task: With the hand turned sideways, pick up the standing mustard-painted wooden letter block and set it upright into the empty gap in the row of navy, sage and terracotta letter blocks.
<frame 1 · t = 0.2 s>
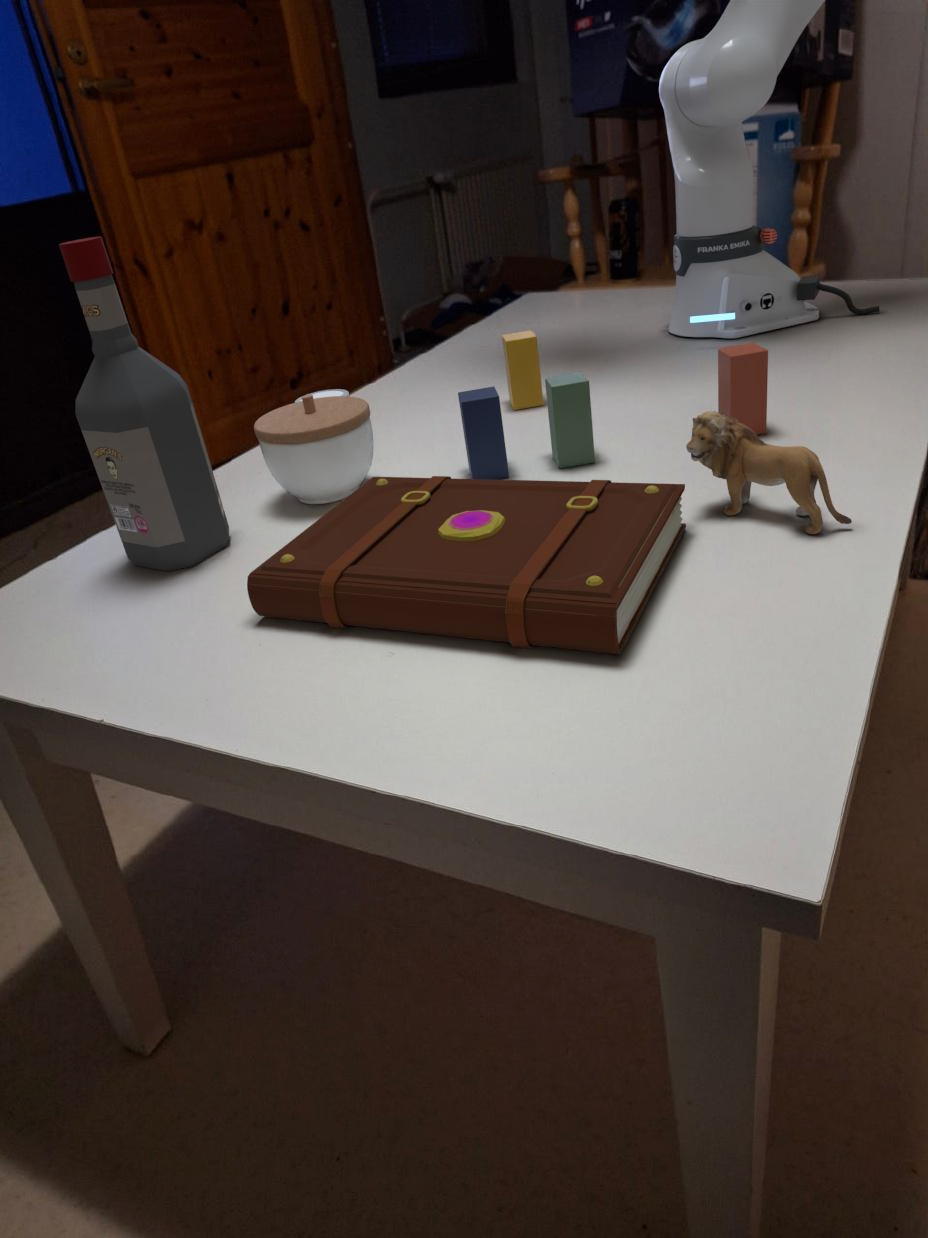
book: (476, 576, 78), on the table
lion figurine: (760, 517, 80), on the table
lidded bowl: (329, 493, 102), on the table
sage block: (573, 459, 99), on the table
terracotta block: (741, 430, 99), on the table
shot glass: (333, 451, 115), on the table
navy block: (489, 474, 99), on the table
mustard block: (526, 403, 120), on the table
liquor: (182, 552, 93), on the table
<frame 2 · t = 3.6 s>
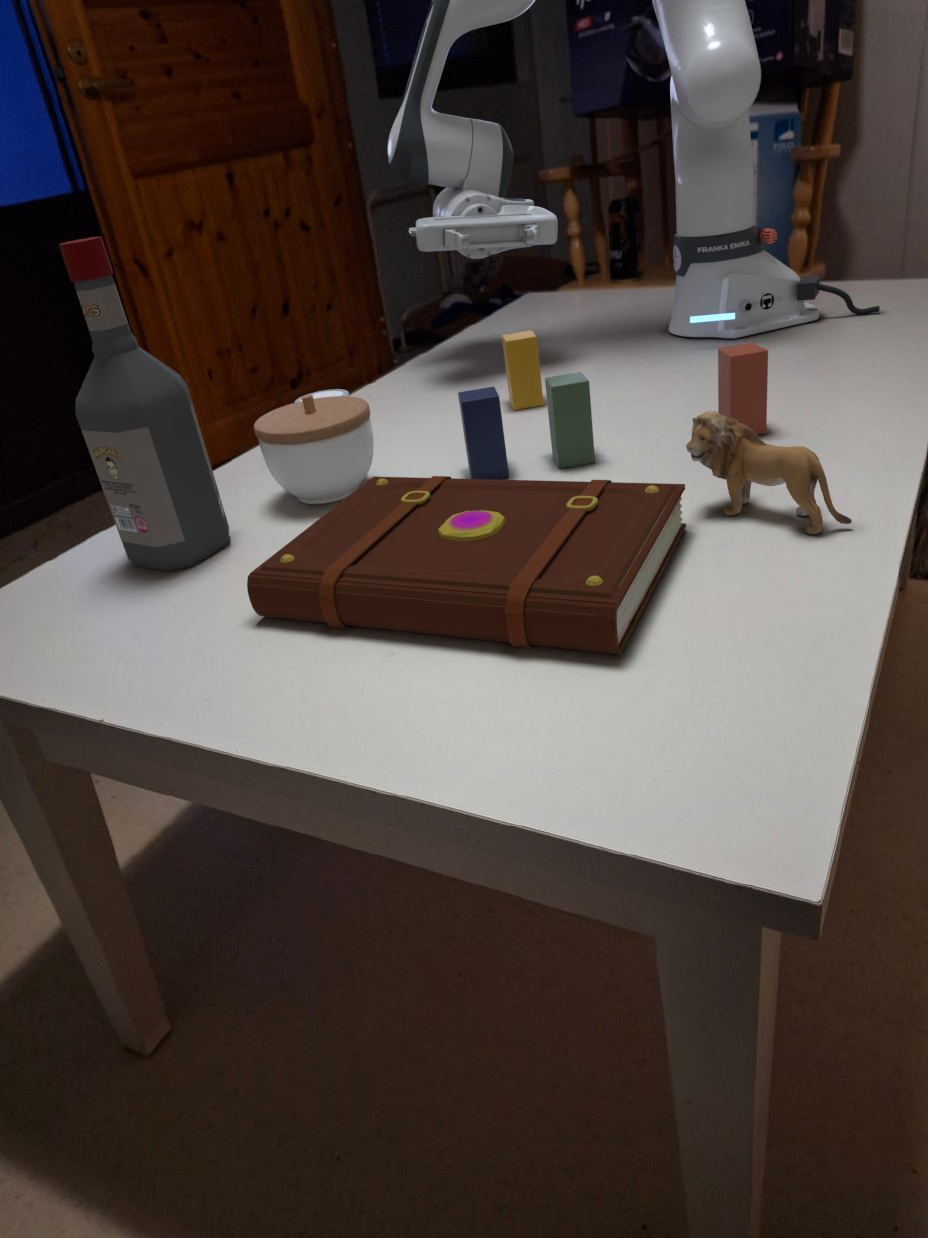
hand: (498, 239, 121), 19 cm above the table, tool horizontal, fingers open, 8 cm apart
nothing on the table moved.
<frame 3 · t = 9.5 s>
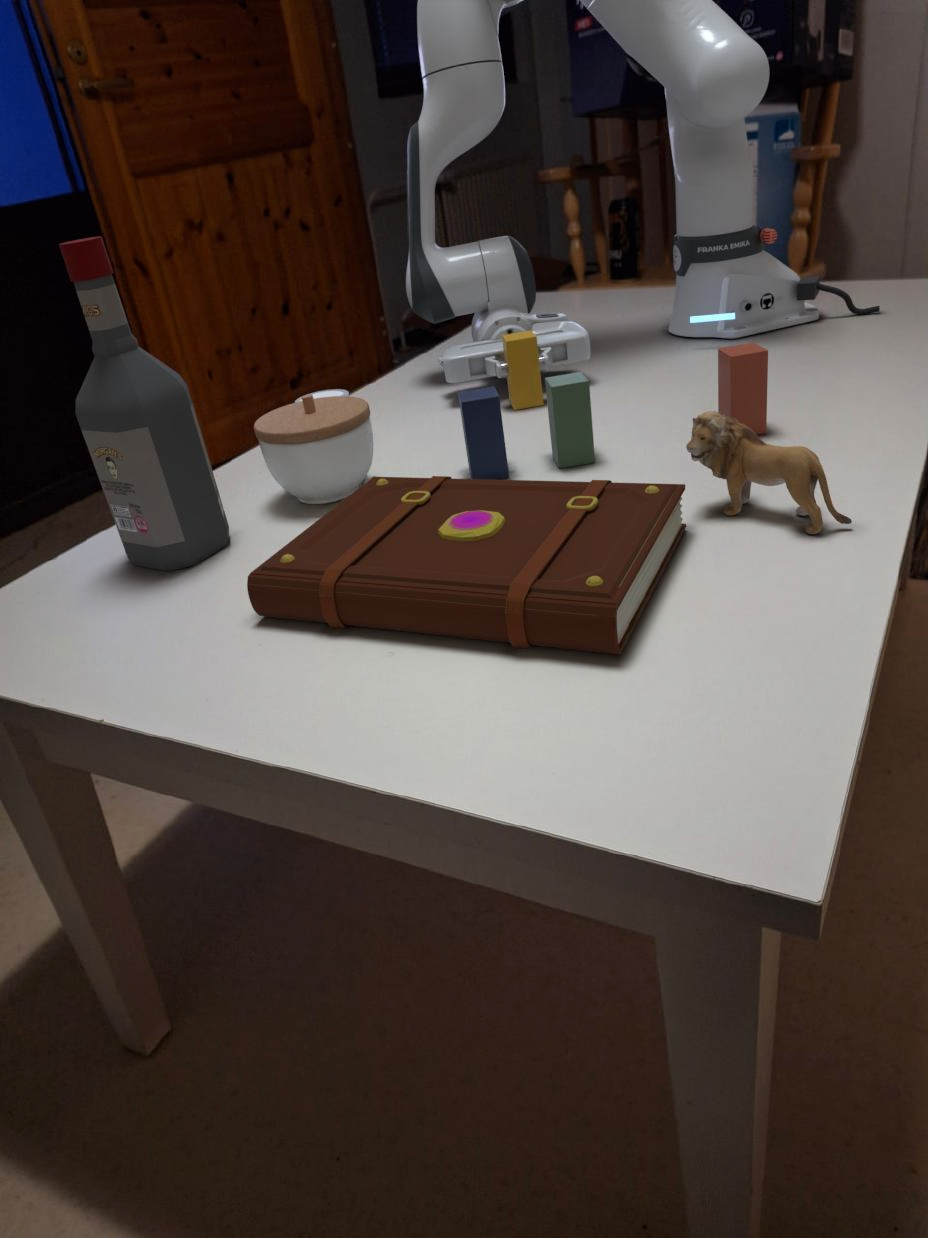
hand: (523, 367, 117), 5 cm above the table, tool horizontal, fingers closed on mustard block, 4 cm apart
mustard block: (526, 403, 120), on the table, touching gripper
everything else where it was.
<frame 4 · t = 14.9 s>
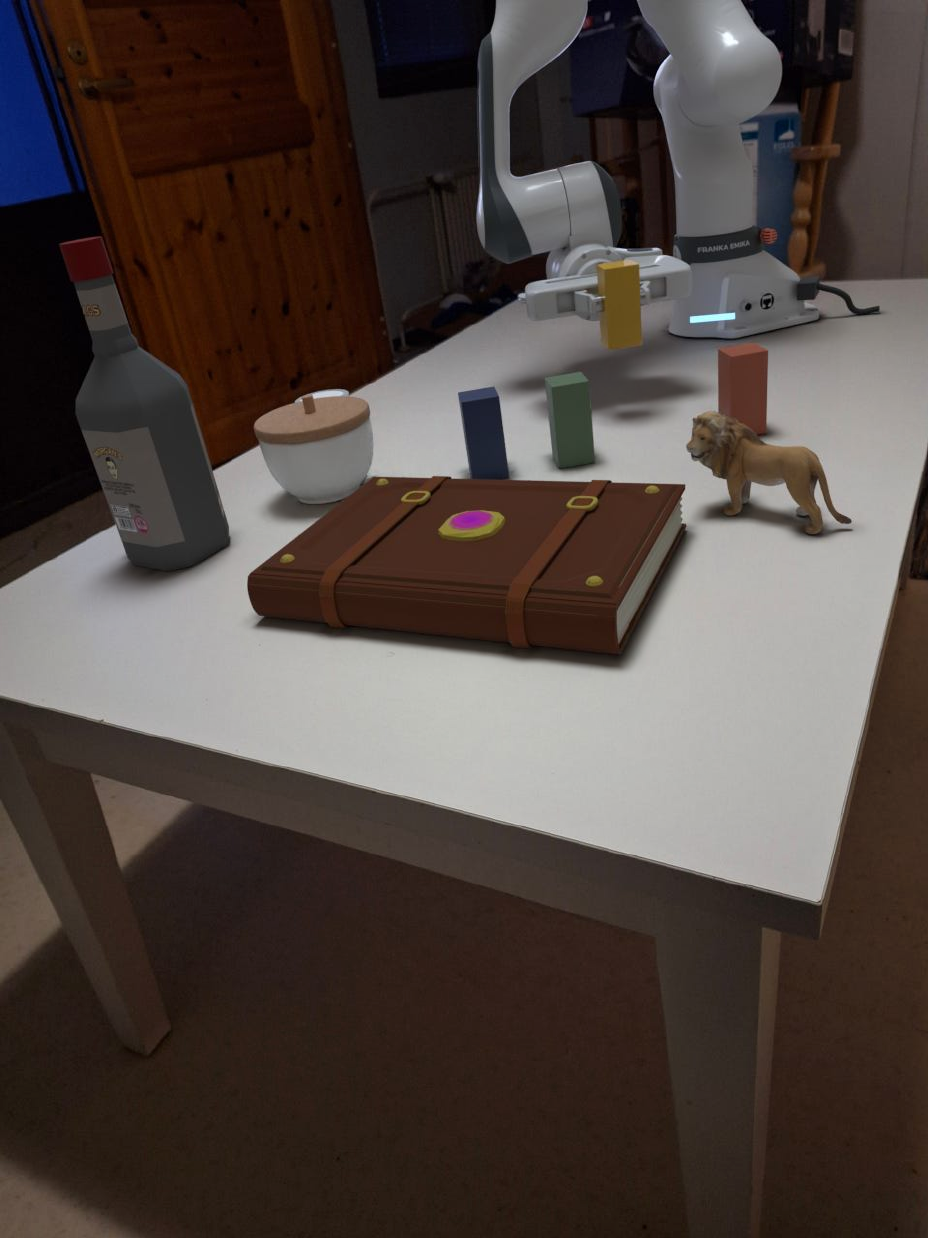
hand: (621, 301, 103), 13 cm above the table, tool horizontal, fingers closed on mustard block, 4 cm apart
mustard block: (621, 343, 107), point 8 cm above the table, touching gripper
everything else where it was.
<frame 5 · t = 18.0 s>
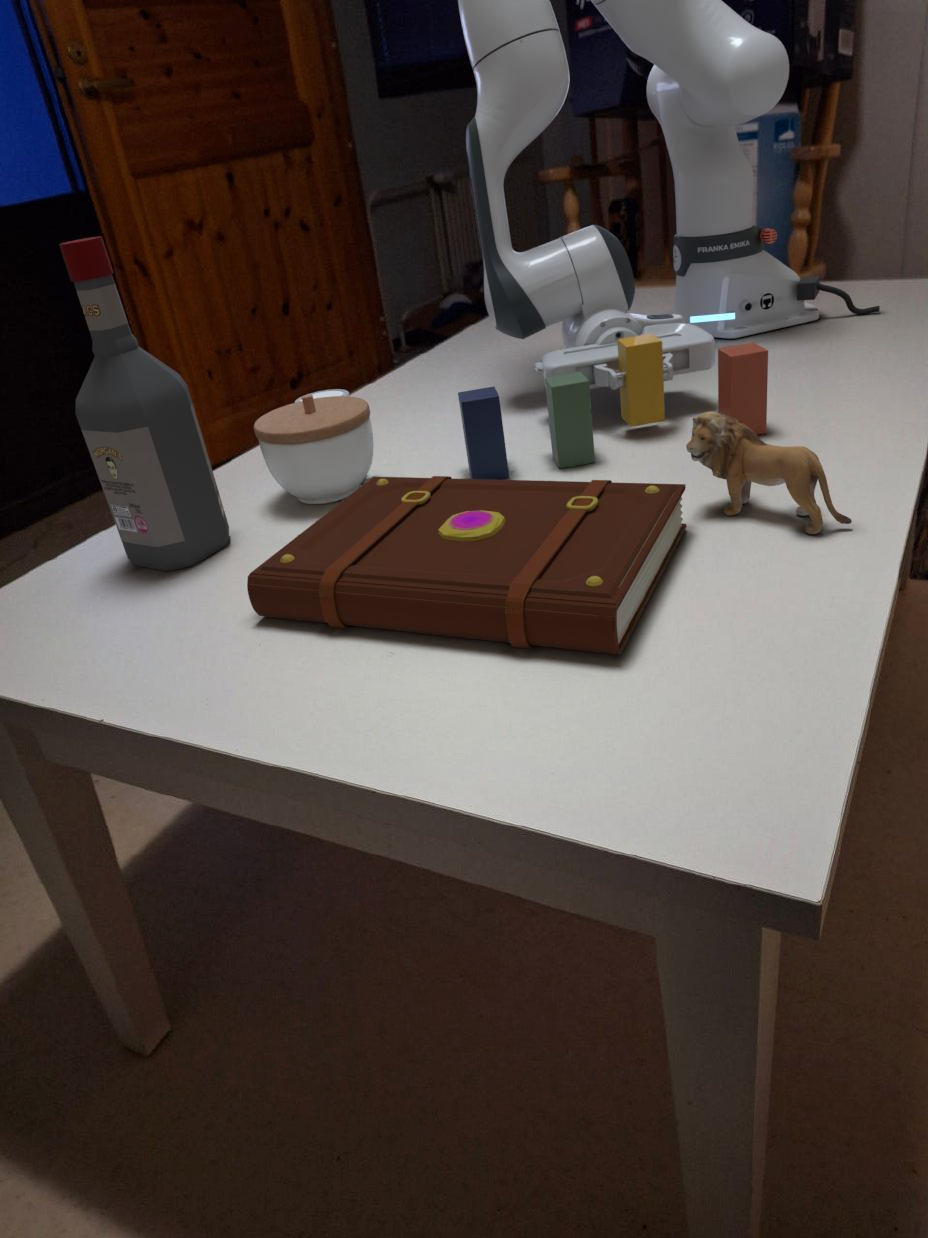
hand: (643, 377, 100), 7 cm above the table, tool horizontal, fingers closed on mustard block, 4 cm apart
mustard block: (642, 419, 103), point 2 cm above the table, touching gripper
everything else where it was.
when the fingers open (5 cm above the table, at t = 20.2 s): mustard block stays where it is, on the table.
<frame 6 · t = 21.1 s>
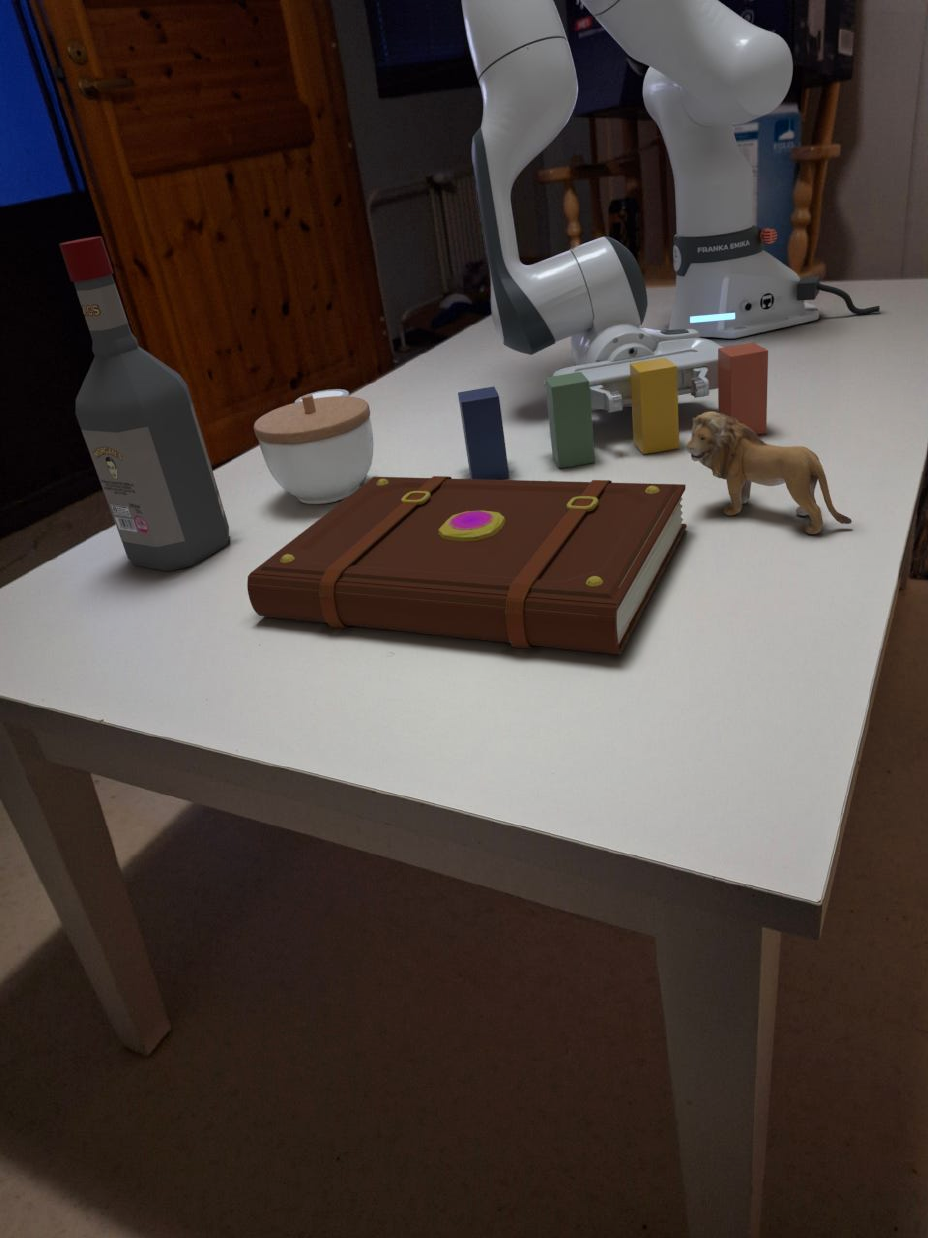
hand: (659, 396, 96), 6 cm above the table, tool horizontal, fingers open, 8 cm apart
mustard block: (656, 445, 99), on the table
everything else where it was.
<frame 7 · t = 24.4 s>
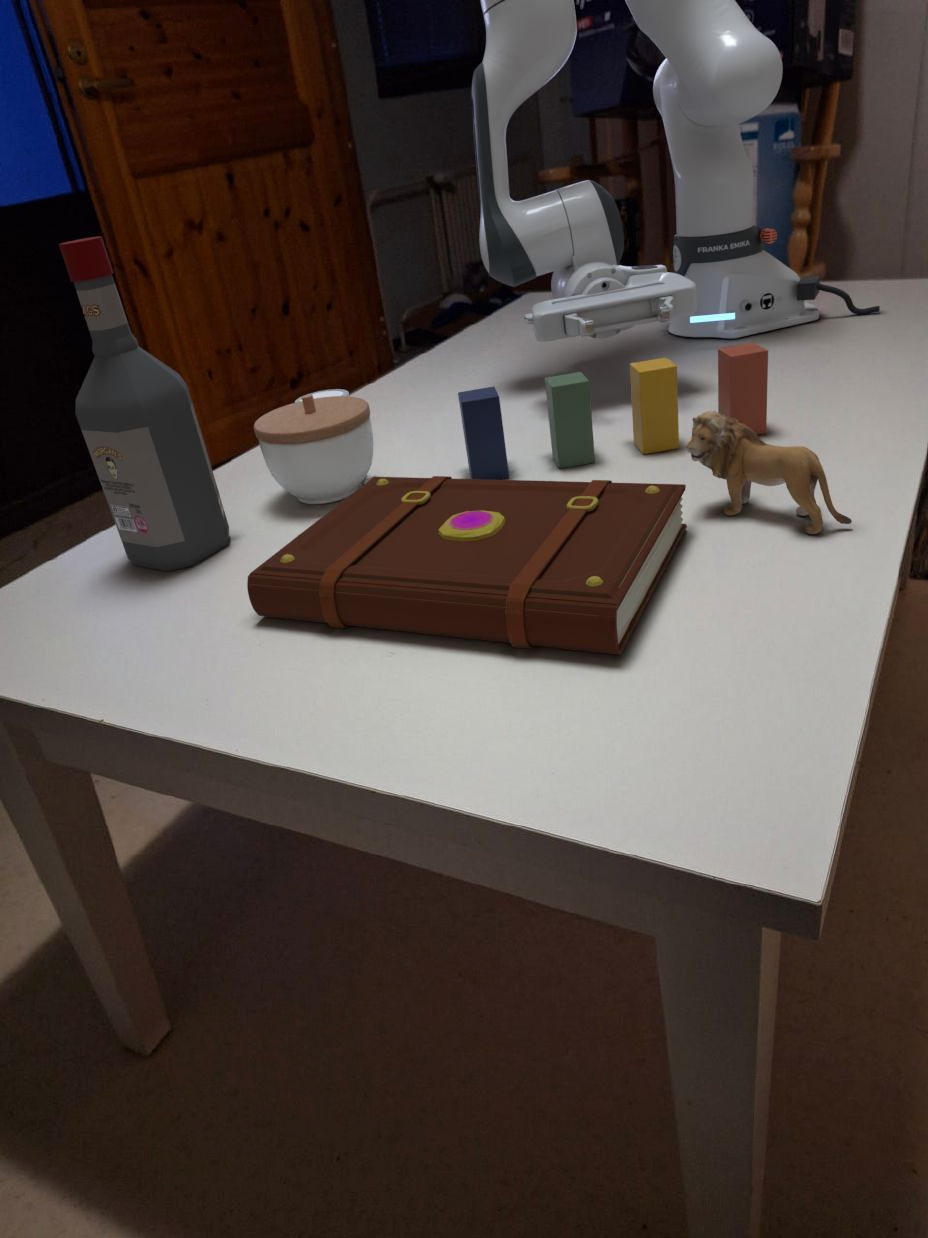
hand: (627, 321, 105), 11 cm above the table, tool horizontal, fingers open, 8 cm apart
nothing on the table moved.
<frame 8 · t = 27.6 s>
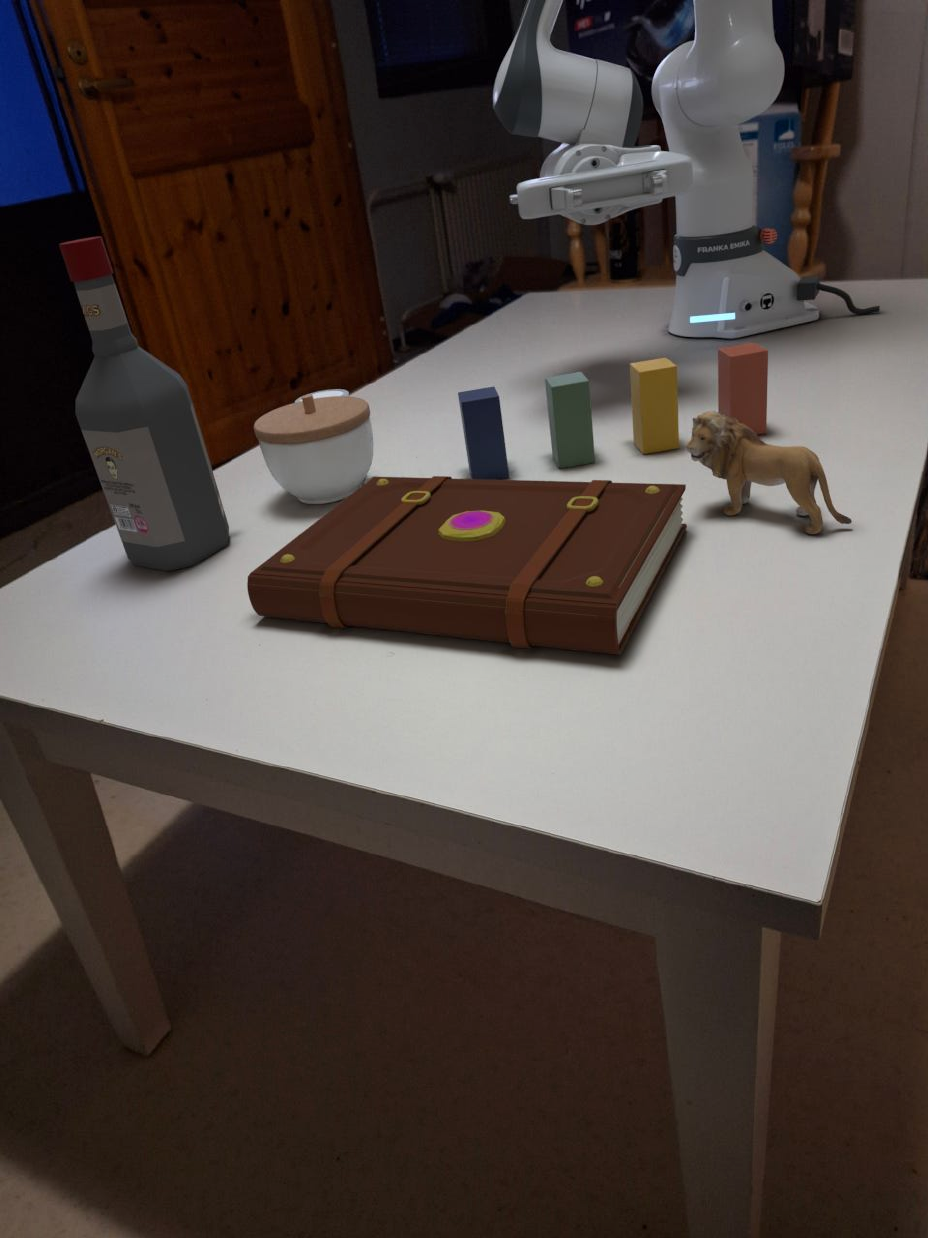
hand: (618, 191, 98), 25 cm above the table, tool horizontal, fingers open, 8 cm apart
nothing on the table moved.
at the end: mustard block 0.2 cm from the target spot on the table beside the sage block, on the table; mustard block tilted 0°; the gripper is holding nothing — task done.
